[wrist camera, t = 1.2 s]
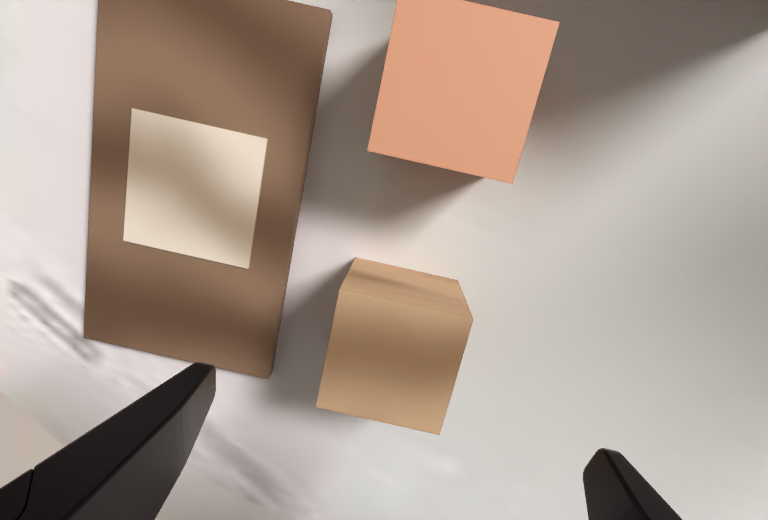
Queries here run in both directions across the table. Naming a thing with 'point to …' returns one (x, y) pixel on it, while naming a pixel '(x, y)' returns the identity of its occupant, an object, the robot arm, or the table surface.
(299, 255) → the table surface
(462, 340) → the oak cube
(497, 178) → the terracotta cube
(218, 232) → the brown flat panel
